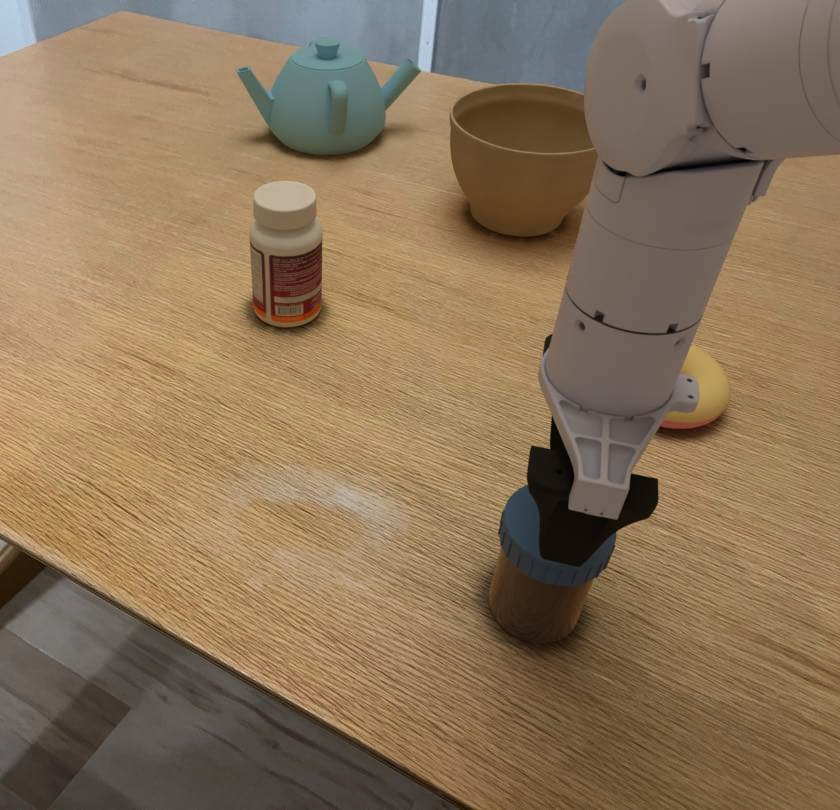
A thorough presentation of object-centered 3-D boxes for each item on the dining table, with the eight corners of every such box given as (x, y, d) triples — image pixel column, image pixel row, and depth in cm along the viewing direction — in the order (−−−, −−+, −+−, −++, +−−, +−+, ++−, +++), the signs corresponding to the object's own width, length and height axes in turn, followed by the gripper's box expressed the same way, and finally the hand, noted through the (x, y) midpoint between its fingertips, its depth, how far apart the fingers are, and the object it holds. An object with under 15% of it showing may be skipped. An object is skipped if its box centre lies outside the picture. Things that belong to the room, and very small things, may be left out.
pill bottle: (334, 304, 74) (338, 190, 67) (295, 338, 71) (294, 221, 63) (279, 282, 77) (277, 170, 69) (239, 314, 73) (231, 199, 66)
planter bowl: (408, 201, 89) (417, 101, 81) (524, 168, 94) (543, 72, 87) (503, 273, 78) (524, 166, 71) (628, 231, 84) (659, 128, 77)
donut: (638, 366, 71) (565, 391, 67) (652, 317, 69) (576, 339, 64) (746, 418, 64) (671, 450, 59) (765, 365, 62) (689, 394, 57)
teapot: (360, 176, 93) (365, 75, 85) (235, 142, 100) (229, 47, 92) (419, 128, 103) (428, 34, 95) (301, 100, 110) (301, 10, 102)
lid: (630, 575, 45) (639, 555, 44) (525, 597, 44) (532, 576, 43) (577, 493, 49) (584, 472, 48) (481, 511, 48) (485, 490, 47)
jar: (593, 633, 49) (627, 556, 44) (509, 652, 48) (534, 575, 43) (553, 562, 53) (579, 483, 48) (474, 578, 52) (493, 499, 47)
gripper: (750, 425, 29) (644, 636, 38) (720, 226, 39) (642, 430, 49) (548, 387, 31) (491, 599, 40) (570, 205, 41) (521, 407, 50)
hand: (565, 504), depth 44 cm, fingers open, 7 cm apart
